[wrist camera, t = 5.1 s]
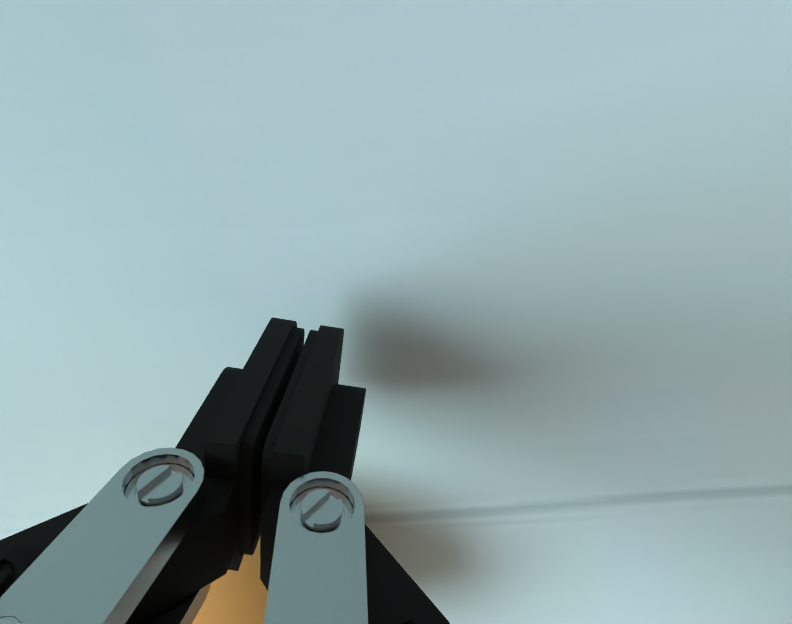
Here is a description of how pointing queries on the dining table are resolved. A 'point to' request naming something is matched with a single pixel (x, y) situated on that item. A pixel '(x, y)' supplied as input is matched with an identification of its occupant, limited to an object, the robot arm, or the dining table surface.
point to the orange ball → (236, 595)
